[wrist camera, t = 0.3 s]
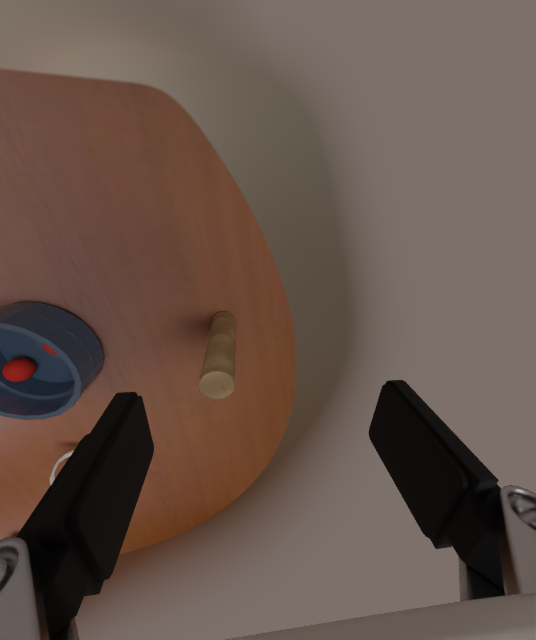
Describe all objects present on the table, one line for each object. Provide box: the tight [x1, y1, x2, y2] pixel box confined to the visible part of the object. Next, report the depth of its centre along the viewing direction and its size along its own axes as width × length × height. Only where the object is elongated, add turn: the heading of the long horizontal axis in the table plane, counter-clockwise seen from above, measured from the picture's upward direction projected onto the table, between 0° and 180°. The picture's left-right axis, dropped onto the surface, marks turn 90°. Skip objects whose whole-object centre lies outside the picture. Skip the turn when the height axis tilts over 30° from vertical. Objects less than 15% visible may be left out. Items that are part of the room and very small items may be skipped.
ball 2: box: [42, 343, 59, 355], centre depth 30 cm, size 3×3×3 cm
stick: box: [199, 312, 236, 399], centre depth 27 cm, size 3×3×13 cm
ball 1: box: [2, 358, 36, 382], centre depth 31 cm, size 3×3×3 cm
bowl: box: [0, 302, 104, 420], centre depth 29 cm, size 13×13×6 cm
